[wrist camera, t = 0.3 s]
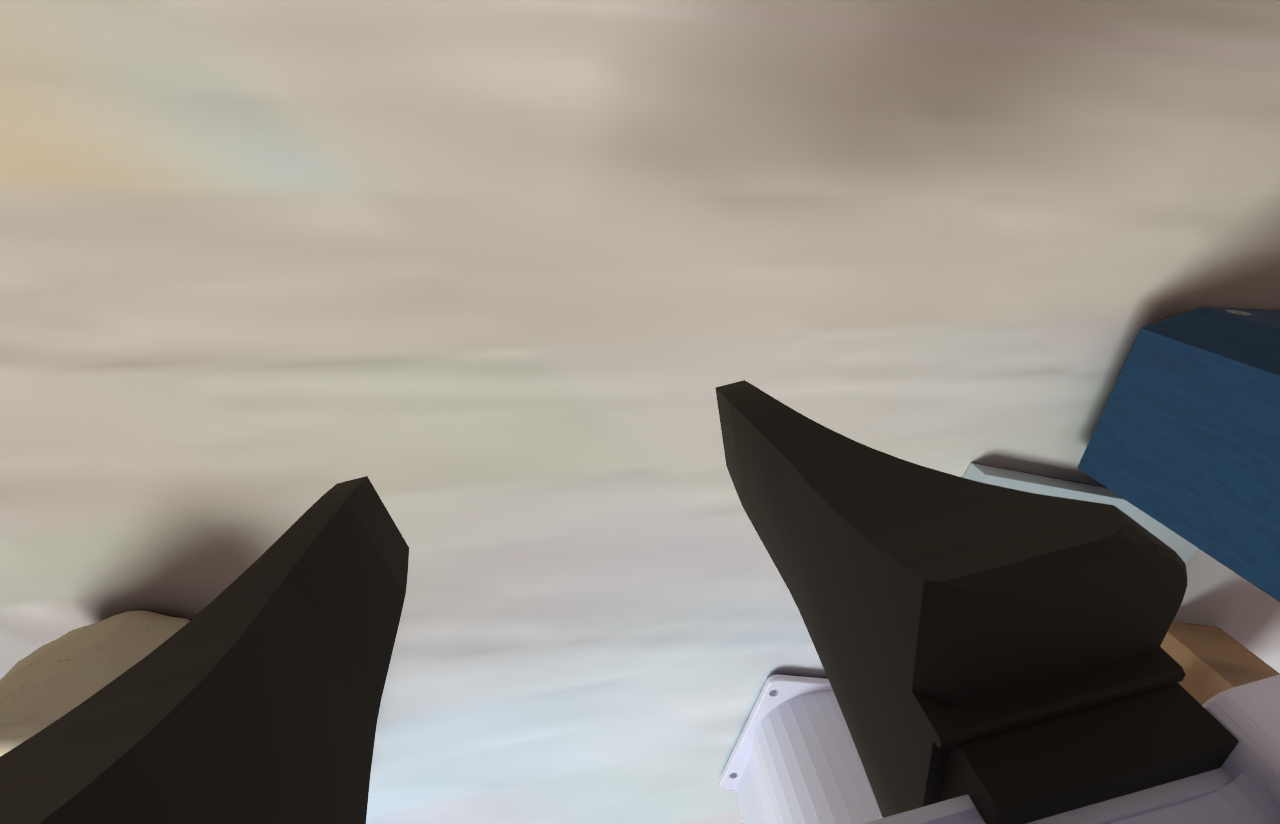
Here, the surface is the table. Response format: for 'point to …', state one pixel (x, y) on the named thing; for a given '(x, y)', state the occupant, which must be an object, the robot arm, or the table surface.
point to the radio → (1201, 435)
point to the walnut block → (1212, 660)
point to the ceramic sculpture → (75, 670)
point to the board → (1079, 493)
